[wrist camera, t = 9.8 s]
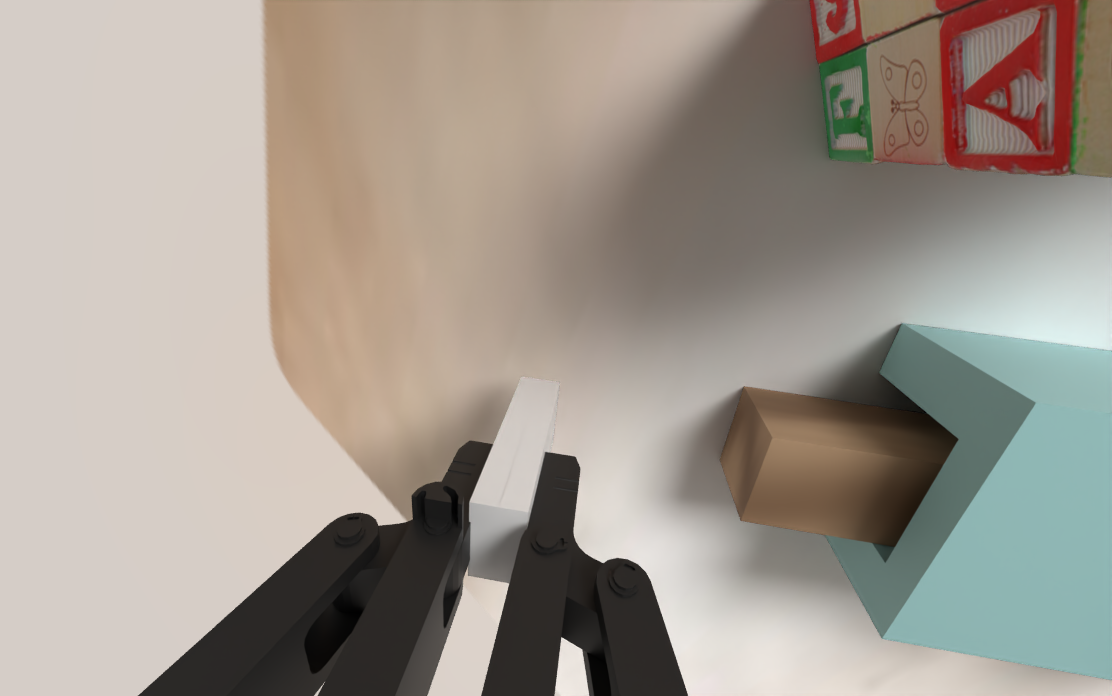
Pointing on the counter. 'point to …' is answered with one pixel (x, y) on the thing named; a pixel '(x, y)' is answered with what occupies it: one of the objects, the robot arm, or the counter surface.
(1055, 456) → the block
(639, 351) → the counter surface
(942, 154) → the stack of blocks
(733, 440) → the brown wooden bar
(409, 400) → the counter surface
